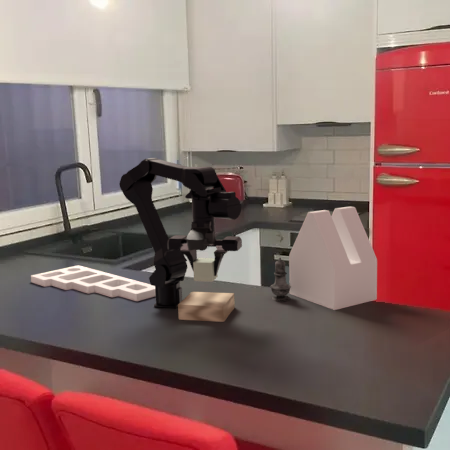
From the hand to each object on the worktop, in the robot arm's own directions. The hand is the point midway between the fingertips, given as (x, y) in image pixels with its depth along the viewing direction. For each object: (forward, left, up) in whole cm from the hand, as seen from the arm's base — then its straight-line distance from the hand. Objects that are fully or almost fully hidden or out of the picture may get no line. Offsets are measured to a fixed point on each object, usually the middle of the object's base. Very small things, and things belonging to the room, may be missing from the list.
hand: (205, 275), depth 164 cm
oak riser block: (0, 0, -10) cm, 10 cm away
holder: (-42, +19, -11) cm, 48 cm away
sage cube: (0, 0, -1) cm, 1 cm away
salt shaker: (+17, +16, -11) cm, 26 cm away
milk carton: (+31, +20, -11) cm, 38 cm away
